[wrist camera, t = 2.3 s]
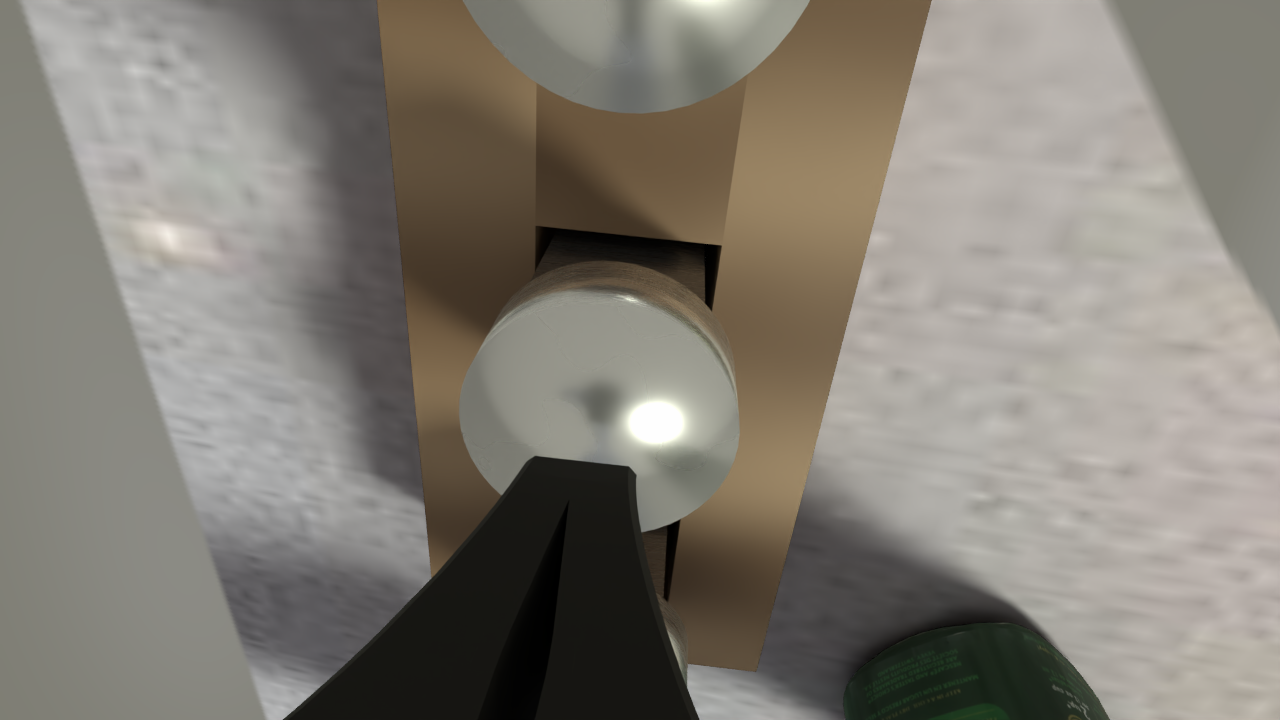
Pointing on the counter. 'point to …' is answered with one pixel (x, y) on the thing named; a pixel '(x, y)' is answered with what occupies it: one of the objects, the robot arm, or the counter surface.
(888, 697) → the coffee jar
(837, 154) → the block
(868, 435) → the counter surface
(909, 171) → the counter surface
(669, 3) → the knob
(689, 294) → the middle knob
